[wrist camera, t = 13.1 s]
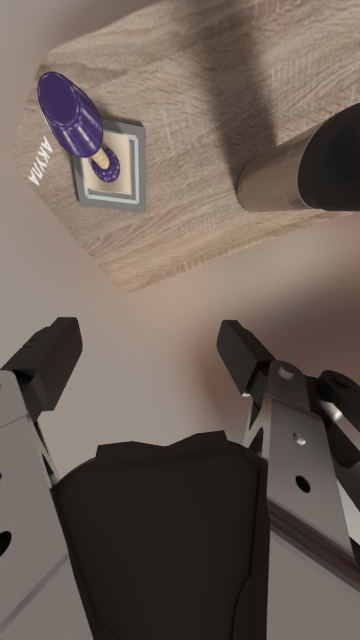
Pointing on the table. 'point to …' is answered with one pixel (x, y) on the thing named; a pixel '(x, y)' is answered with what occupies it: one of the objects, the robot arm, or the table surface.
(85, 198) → the slate board
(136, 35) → the table surface
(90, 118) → the toy lamp
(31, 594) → the robot arm
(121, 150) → the cream block
